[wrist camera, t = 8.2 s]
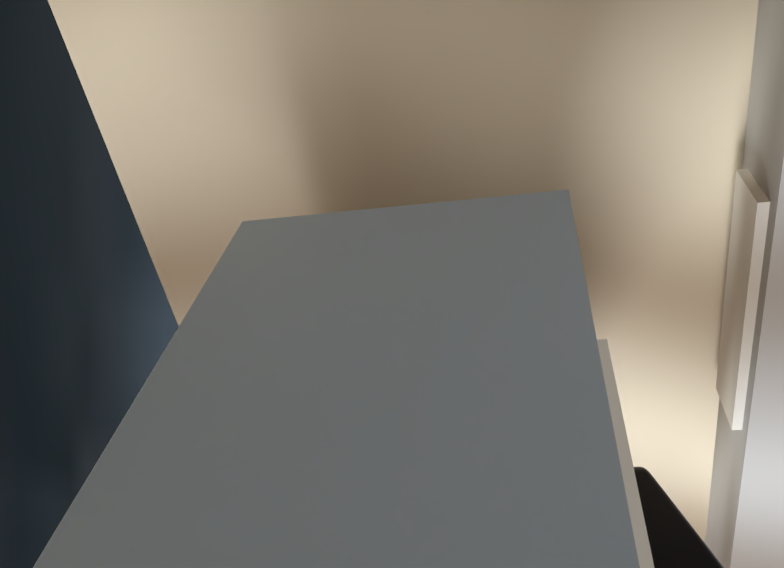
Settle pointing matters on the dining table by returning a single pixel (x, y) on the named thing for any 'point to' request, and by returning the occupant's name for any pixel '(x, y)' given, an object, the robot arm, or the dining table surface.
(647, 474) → the robot arm
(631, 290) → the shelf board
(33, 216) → the dining table surface
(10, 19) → the dining table surface
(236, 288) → the block
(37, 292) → the dining table surface
